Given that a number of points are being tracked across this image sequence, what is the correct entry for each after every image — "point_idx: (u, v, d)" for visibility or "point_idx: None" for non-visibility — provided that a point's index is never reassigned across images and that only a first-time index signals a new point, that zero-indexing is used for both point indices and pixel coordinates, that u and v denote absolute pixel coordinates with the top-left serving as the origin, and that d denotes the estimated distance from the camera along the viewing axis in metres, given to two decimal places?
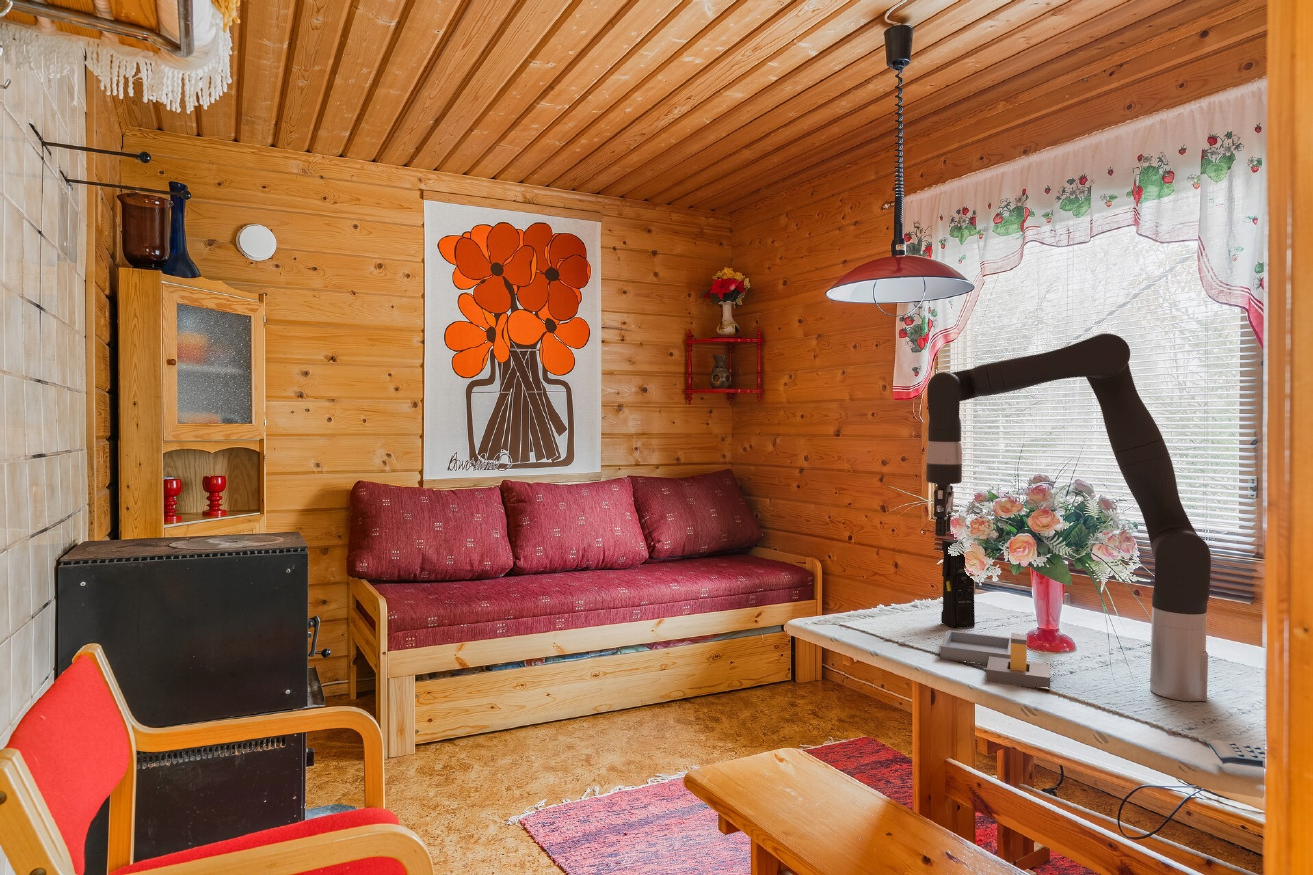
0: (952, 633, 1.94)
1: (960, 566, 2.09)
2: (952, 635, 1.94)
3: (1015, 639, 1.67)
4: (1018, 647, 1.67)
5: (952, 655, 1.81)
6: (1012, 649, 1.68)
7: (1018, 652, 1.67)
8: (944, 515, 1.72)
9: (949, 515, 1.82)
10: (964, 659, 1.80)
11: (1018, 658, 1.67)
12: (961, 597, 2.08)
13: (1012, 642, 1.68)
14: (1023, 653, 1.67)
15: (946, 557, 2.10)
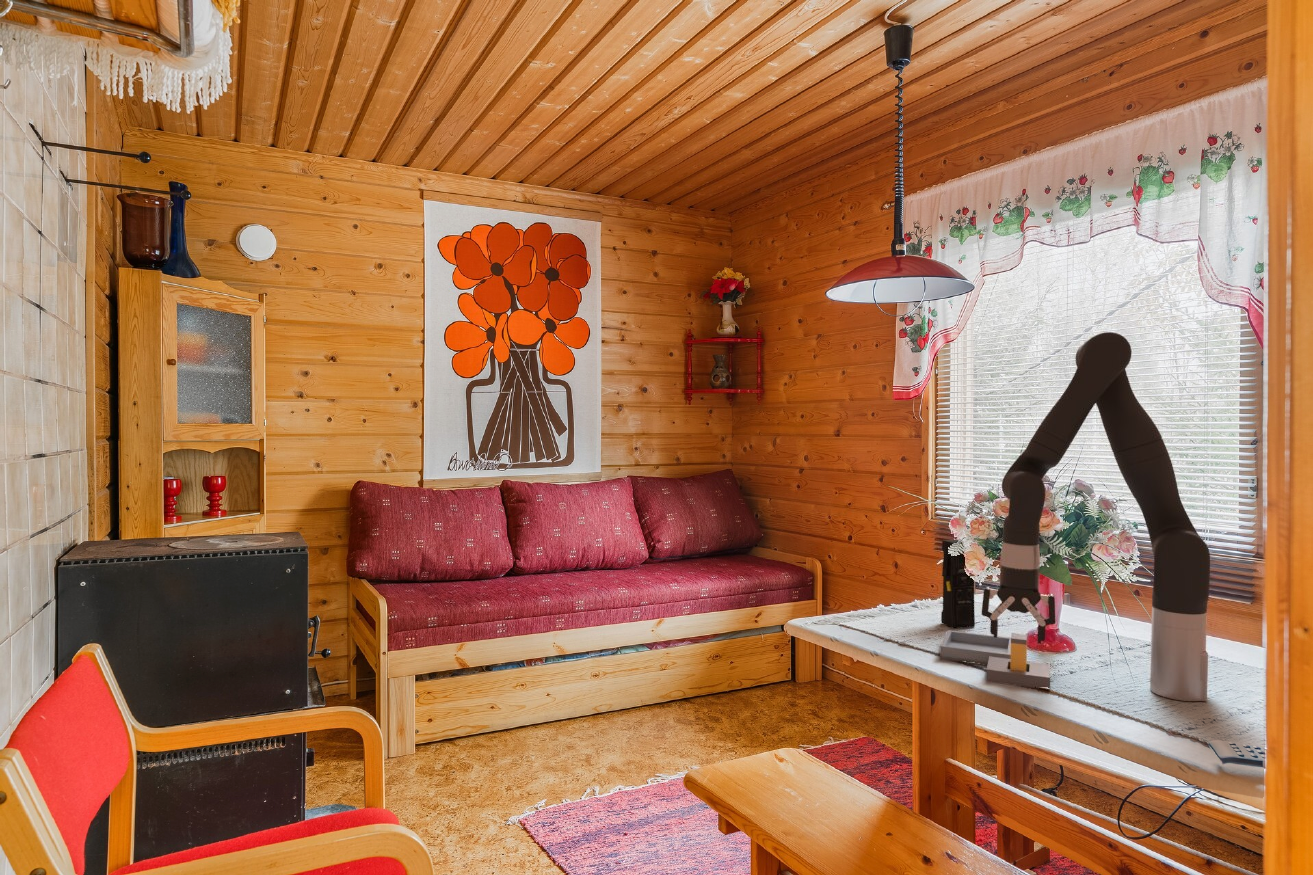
0: (952, 633, 1.94)
1: (960, 566, 2.09)
2: (952, 635, 1.94)
3: (1015, 639, 1.67)
4: (1018, 647, 1.67)
5: (952, 655, 1.81)
6: (1012, 649, 1.68)
7: (1018, 652, 1.67)
8: None
9: None
10: (964, 659, 1.80)
11: (1018, 658, 1.67)
12: (961, 597, 2.08)
13: (1012, 642, 1.68)
14: (1023, 653, 1.67)
15: (946, 557, 2.10)
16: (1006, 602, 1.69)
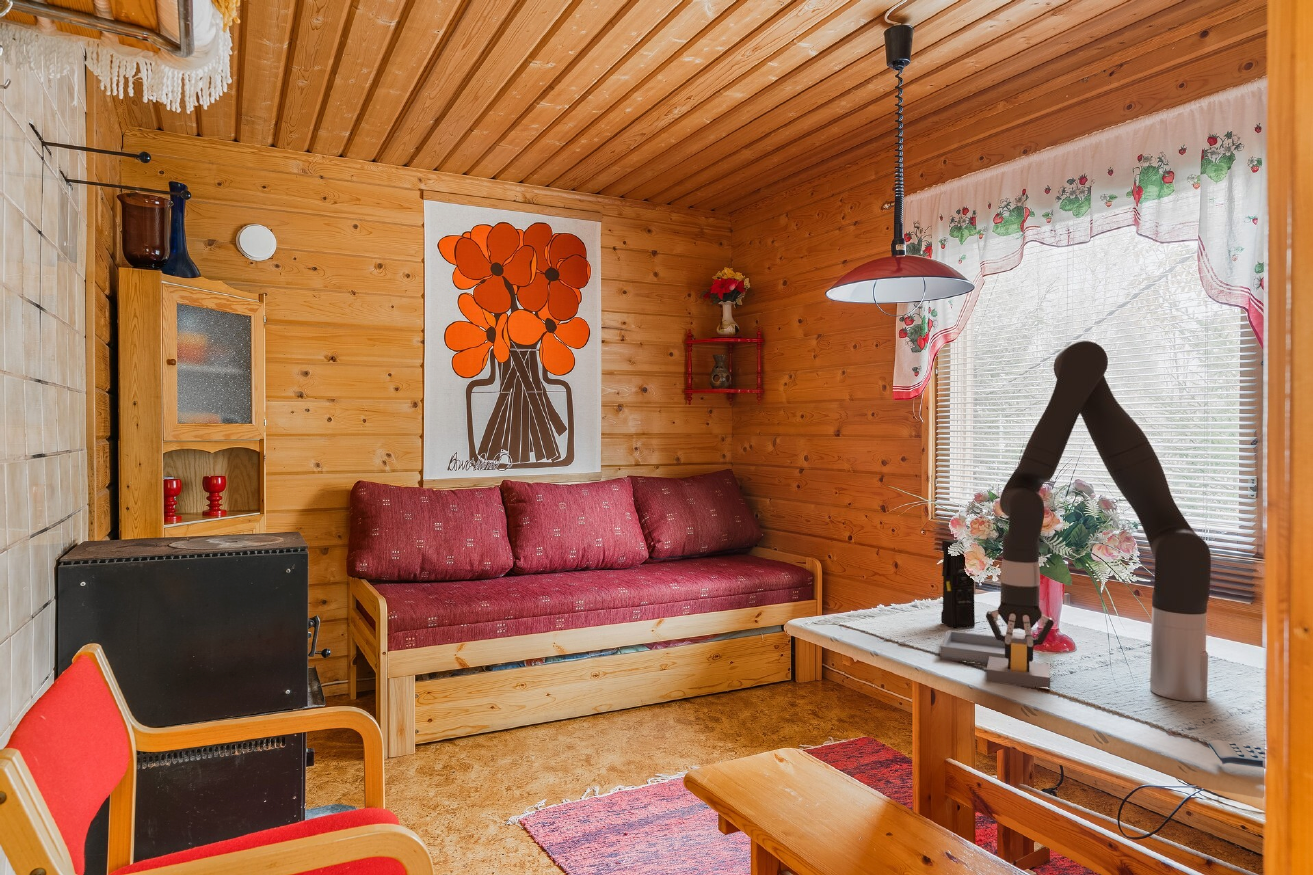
0: (952, 633, 1.94)
1: (960, 566, 2.09)
2: (952, 635, 1.94)
3: (1015, 639, 1.67)
4: (1018, 647, 1.67)
5: (952, 655, 1.81)
6: (1012, 649, 1.68)
7: (1018, 652, 1.67)
8: None
9: None
10: (964, 659, 1.80)
11: (1018, 658, 1.67)
12: (961, 597, 2.08)
13: (1012, 642, 1.67)
14: (1023, 653, 1.67)
15: (946, 557, 2.10)
16: (1010, 621, 1.68)
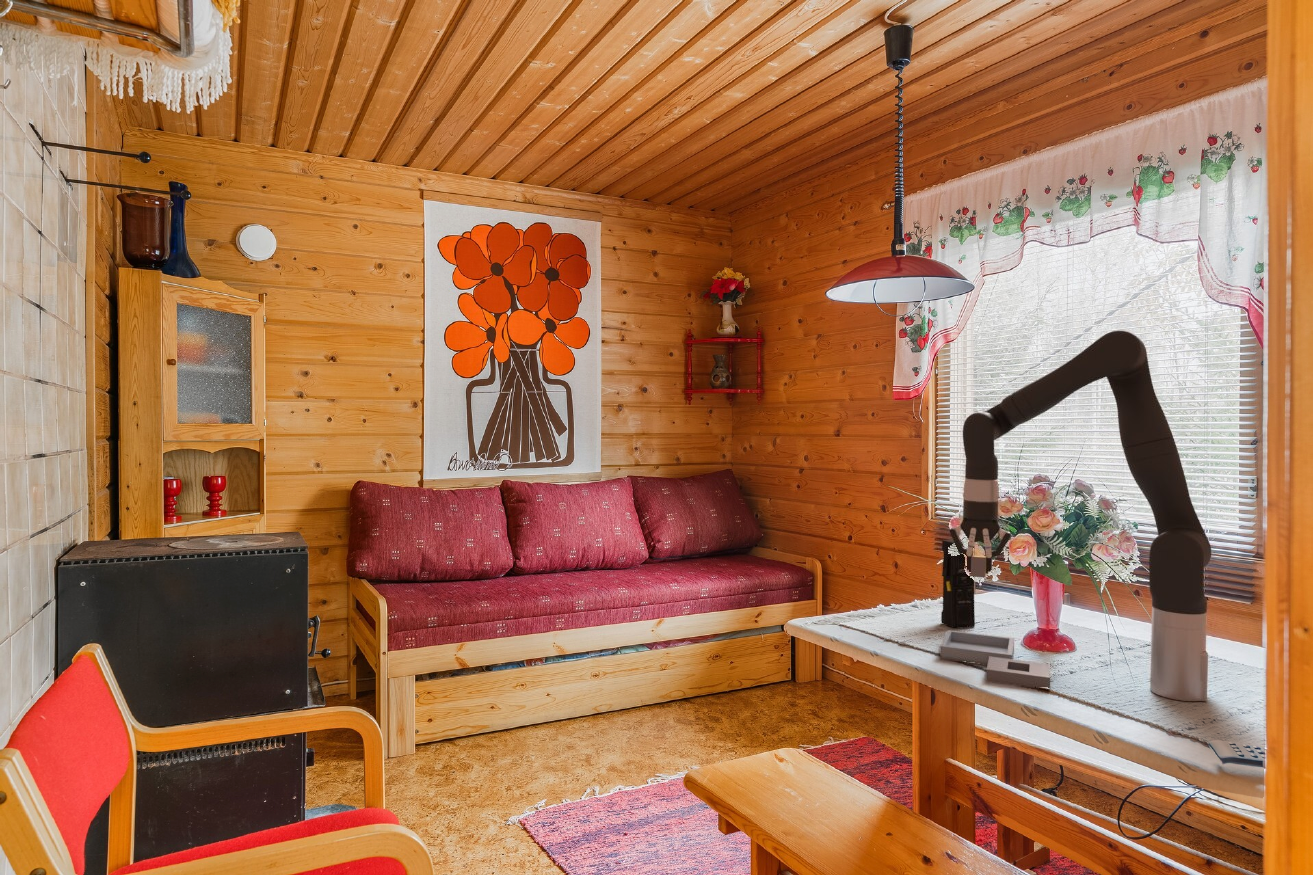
0: (952, 633, 1.94)
1: (960, 566, 2.09)
2: (952, 635, 1.94)
3: (974, 576, 1.82)
4: None
5: (952, 655, 1.81)
6: None
7: None
8: None
9: None
10: (964, 659, 1.80)
11: None
12: (961, 597, 2.08)
13: None
14: None
15: (946, 557, 2.10)
16: (971, 535, 1.84)
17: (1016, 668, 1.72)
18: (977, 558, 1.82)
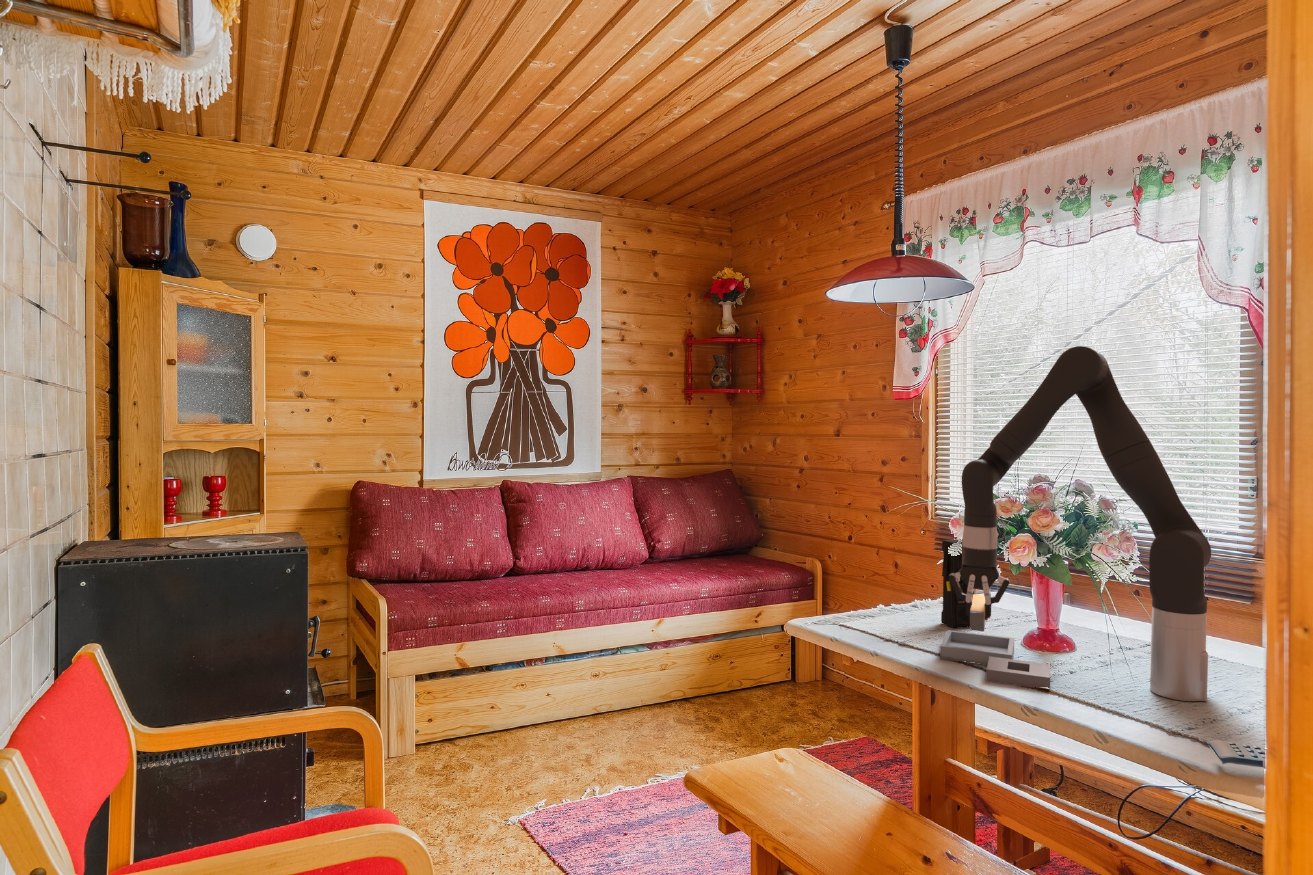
0: (952, 633, 1.94)
1: (960, 566, 2.09)
2: (952, 635, 1.94)
3: (974, 629, 1.83)
4: None
5: (952, 655, 1.81)
6: None
7: None
8: None
9: None
10: (964, 659, 1.80)
11: None
12: None
13: None
14: None
15: (946, 557, 2.10)
16: (970, 582, 1.85)
17: (1016, 668, 1.72)
18: (976, 614, 1.82)
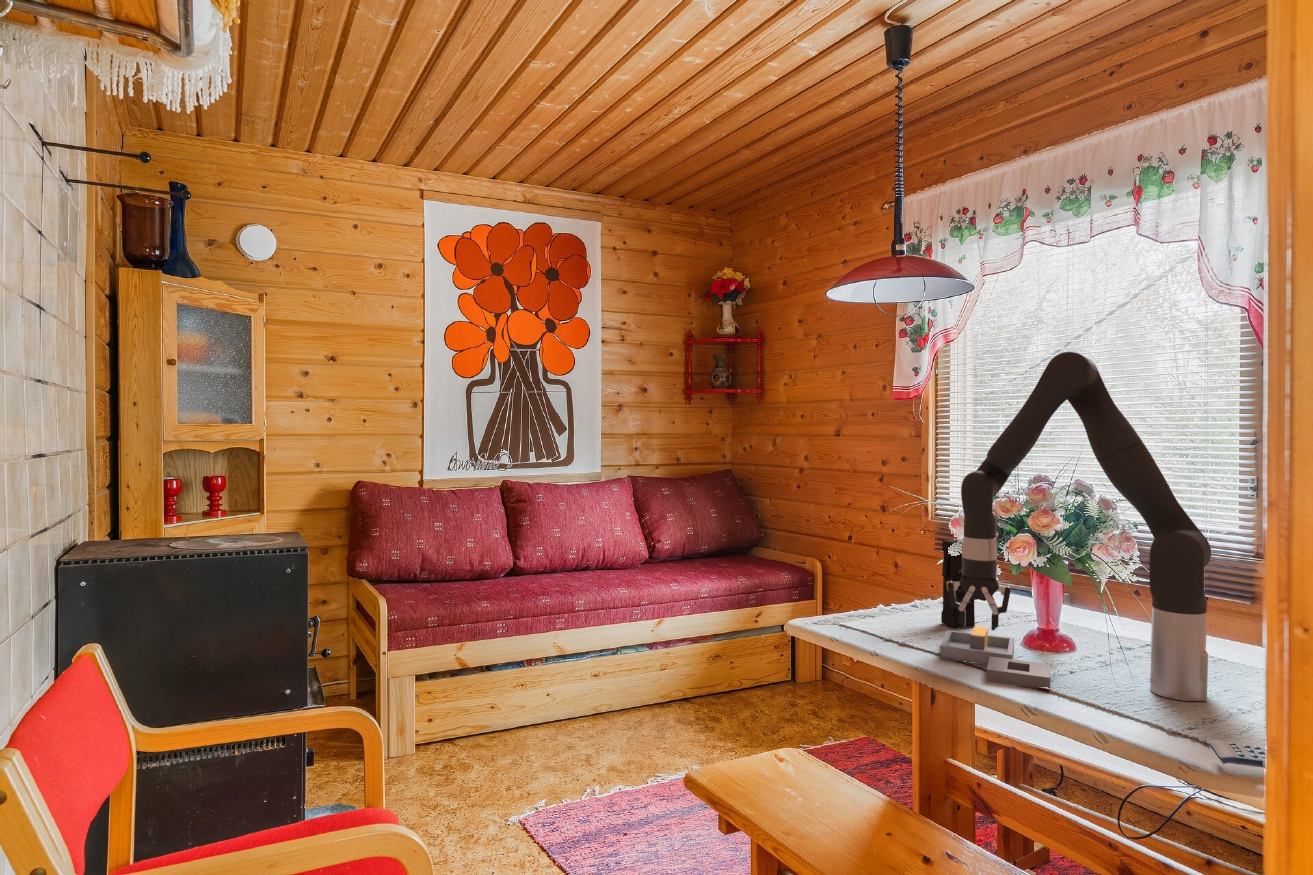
0: (952, 633, 1.94)
1: (960, 566, 2.09)
2: (952, 635, 1.94)
3: None
4: None
5: (952, 655, 1.81)
6: None
7: None
8: None
9: None
10: (964, 659, 1.80)
11: None
12: (961, 597, 2.08)
13: None
14: None
15: (946, 557, 2.10)
16: (968, 592, 1.85)
17: (1016, 668, 1.72)
18: (976, 637, 1.82)
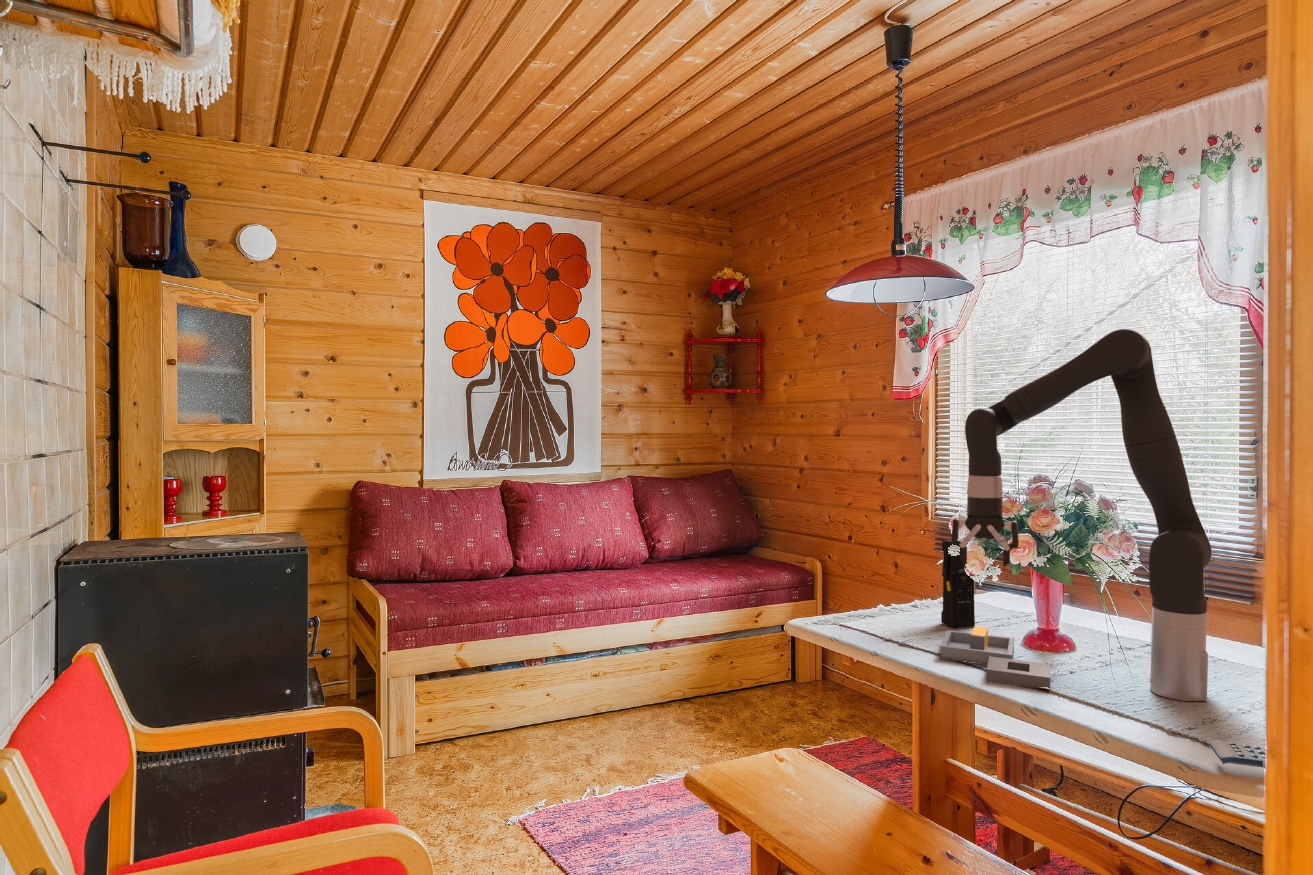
0: (952, 633, 1.94)
1: (960, 566, 2.09)
2: (952, 635, 1.94)
3: None
4: None
5: (952, 655, 1.81)
6: None
7: None
8: (1018, 544, 1.82)
9: None
10: (964, 659, 1.80)
11: None
12: (961, 597, 2.08)
13: None
14: None
15: (946, 557, 2.10)
16: (973, 530, 1.83)
17: (1016, 668, 1.72)
18: (976, 637, 1.82)
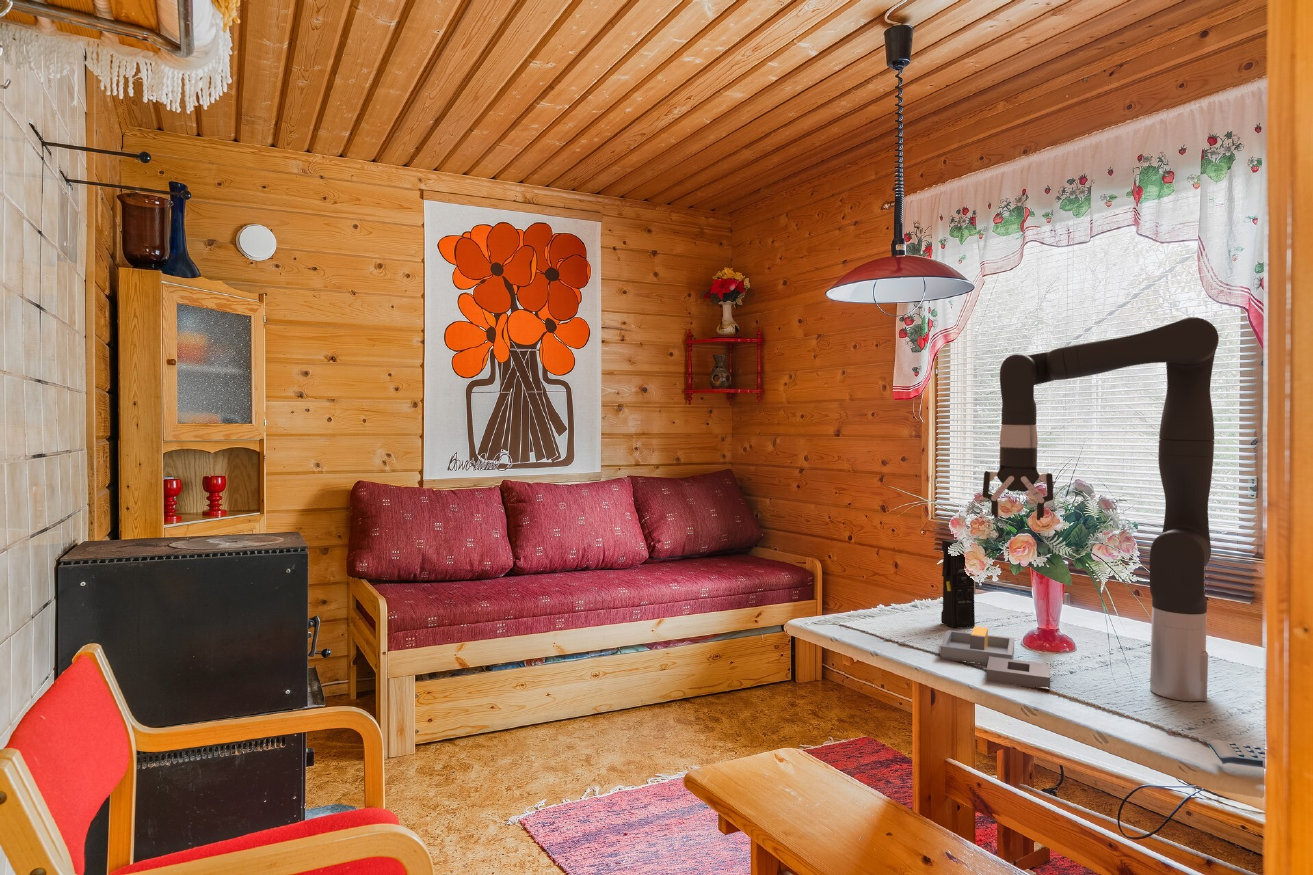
0: (952, 633, 1.94)
1: (960, 566, 2.09)
2: (952, 635, 1.94)
3: None
4: None
5: (952, 655, 1.81)
6: None
7: None
8: None
9: None
10: (964, 659, 1.80)
11: None
12: (961, 597, 2.08)
13: None
14: None
15: (946, 557, 2.10)
16: (1006, 482, 1.75)
17: (1016, 668, 1.72)
18: (976, 637, 1.82)
